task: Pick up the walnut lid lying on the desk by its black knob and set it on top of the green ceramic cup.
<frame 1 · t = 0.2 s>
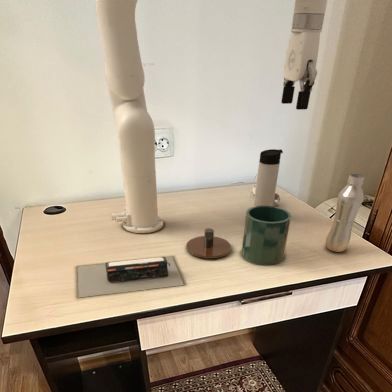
hand: (293, 106, 102), 31 cm above the table, tool pointing down, fingers open, 9 cm apart
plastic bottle: (335, 250, 105), on the table
green ceramic cup: (262, 254, 101), on the table
lid: (208, 247, 103), point 1 cm above the table
travel mug: (262, 216, 122), on the table
grey board with block: (129, 276, 92), on the table
woman figurine: (263, 200, 133), on the table
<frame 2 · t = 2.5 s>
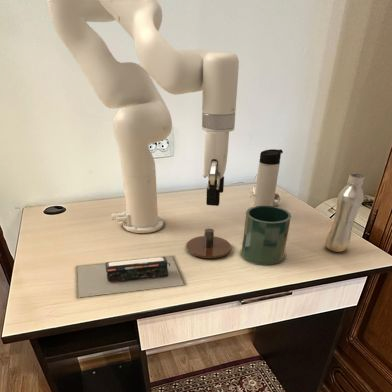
hand: (215, 198, 94), 14 cm above the table, tool pointing down, fingers open, 9 cm apart
nothing on the table moved.
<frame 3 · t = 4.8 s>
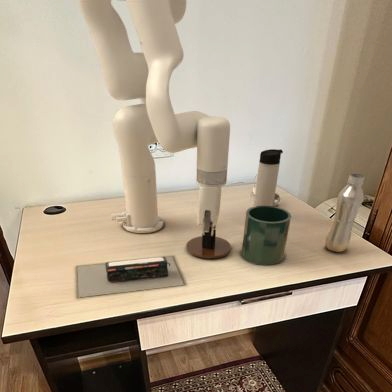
hand: (208, 245, 102), 1 cm above the table, tool pointing down, fingers closed on lid, 2 cm apart
lid: (208, 247, 103), point 1 cm above the table, touching gripper
everything else where it was.
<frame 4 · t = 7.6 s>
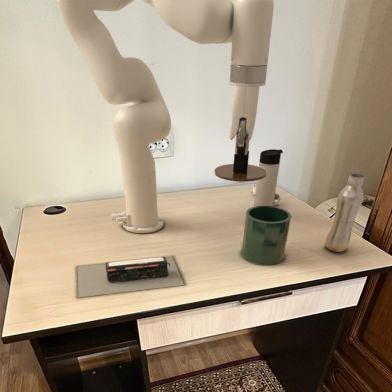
hand: (240, 170, 88), 21 cm above the table, tool pointing down, fingers closed on lid, 2 cm apart
lid: (240, 173, 88), point 21 cm above the table, touching gripper
everything else where it was.
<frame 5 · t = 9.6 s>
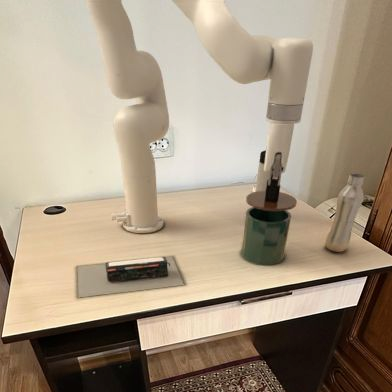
hand: (271, 198, 91), 15 cm above the table, tool pointing down, fingers closed on lid, 2 cm apart
lid: (271, 201, 91), point 15 cm above the table, touching gripper
everything else where it was.
when the fingers open (12 cm above the table, at t = 10.7 s): lid stays where it is, resting on green ceramic cup.
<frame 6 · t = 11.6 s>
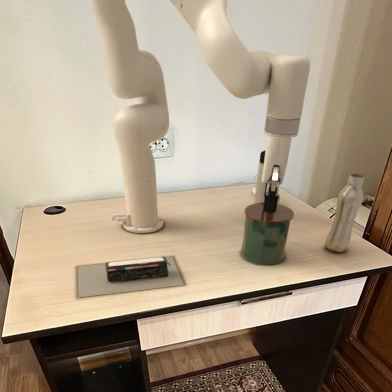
hand: (269, 204, 92), 14 cm above the table, tool pointing down, fingers open, 9 cm apart
lid: (268, 213, 94), point 11 cm above the table, touching green ceramic cup
everything else where it was.
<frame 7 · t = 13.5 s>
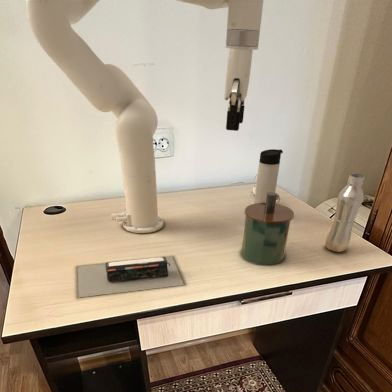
hand: (234, 126, 95), 28 cm above the table, tool pointing down, fingers open, 9 cm apart
nothing on the table moved.
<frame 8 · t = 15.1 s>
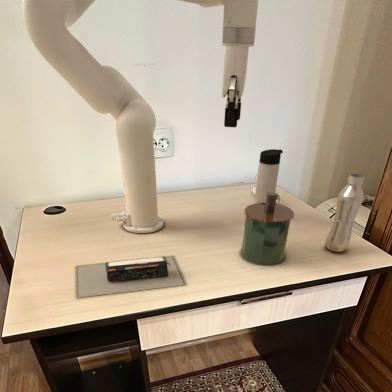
hand: (232, 123, 96), 28 cm above the table, tool pointing down, fingers open, 9 cm apart
nothing on the table moved.
at the end: lid 0.1 cm off-centre on the green ceramic cup, point 11.5 cm above the green ceramic cup's base; lid tilted 0°; the gripper is holding nothing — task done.
